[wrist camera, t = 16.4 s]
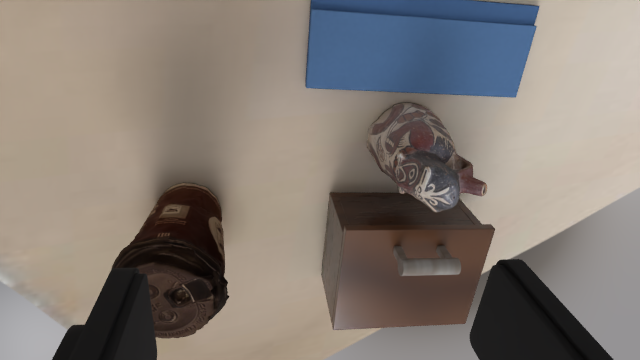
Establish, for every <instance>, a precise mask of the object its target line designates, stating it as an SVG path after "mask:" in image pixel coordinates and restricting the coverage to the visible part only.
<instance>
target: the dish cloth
mask: <svg viewBox="0 0 640 360" xmlns="http://www.w3.org/2000/svg"><path fill="white" fill-rule="evenodd" d="M538 10H539V6H533V5H521V4H509V3H497V2H486V1H474V0H311V6H310V22H309V37H308V53H307V68H306V84H305V85H306V88H318V89H340V90H362V91H384V92H407V93H429V94H451V95H473V96H495V97H516V95H517V91H518V88H519V85H520V81H521V78H522V74H523V71H524V68H525V64H526V61H527V57H528V54H529V51H530V47H531V44H532V40H533V37H534V33H535V30H536V26H534V24H535V20H536V17H537V13H538Z"/></svg>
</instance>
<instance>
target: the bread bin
mask: <svg viewBox="0 0 640 360" xmlns="http://www.w3.org/2000/svg"><path fill="white" fill-rule="evenodd" d="M350 225H482V224H481V223H480V221H479V220H478V219H477V218H476V217H475V216H474V215H473V214H472V212H471V211H470V210H469V209H468V208H467V207H466V206H465V204H464V203H463V202H462V201H461V200H460V199H459V200H458V202H457V204H456V205H455V206H454V207H452V208H450V209H447V210H443V211H441V212H434V211H432V210H431V209H430V208H429V207H428V206H427V205H425V204H424V203H423V202H421V201H420V200H418V199H416V198H415V197H414V196H412V195H410V194H408V193H404V194H401V193H330V196H329V206H328V216H327V225H326V235H325V245H324V255H323V264H322V274H321V275H322V280H323V285H324V289H325V294H326V299H327V303H328V308H329V313H330V317H331V322H332V320H333V312H334V304H335V296H336V288H337V280H338V272H339V264H340V256H341V248H342V240H343V232H344V226H350Z"/></svg>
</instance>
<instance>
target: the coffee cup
mask: <svg viewBox="0 0 640 360" xmlns="http://www.w3.org/2000/svg"><path fill="white" fill-rule="evenodd" d="M221 221H222V217H221V207H220V205H219V203H218V200H217V198H216V196H214V195H213V194H212V193H211V191H209V189H208V188H206V187H203V186H198V185H195V184H193V183H190V184H187V183H181V184H177V185H174V186H172V187H170V188H169V189H168V190H167V191H166V192H165V193H164V194H163V195H162V196H161V197H160V198H159V200H158V202H157V204H156V206H155V207H154V208H153V210H152V211H151V213H150V215H149V217H148V218H147V220H146V221H145V223H144V225H143V226H142V228H141V229H140V231H139V233H138V234H137V235H136V236H135V239H134V240H133V241H132V242H131V243H130V245H128V246H127V247H125V248H124V249H123V250H122V251H121V252H120V254H119V256H118V257H117V258H116V260H115V262H114V264H113V266H112V269H113V268H138V269H139V272H140V274H143V273H145V274H147V278H148V285H149V293H150V300H151V308H152V316H153V323H154V331H155V337H158V338H179V337H186V336H189V335H192V334H194V333H195V332H196V330H199V329H201V328H203V326H204V325H205V324H207V323H208V321H209V320H210V319H212V318H213V317H214V316H215V315H216V314H217V313H218V312H219V311H220V310H221V309H222V308H223V306H224V305H225V303H226V300H227V299H228V298H229V296H228V295H227V293H228V292H227V287H226V286H227V284H228V282H227V280H226V279H225V278H224V273H225V254H224V240H223V228H222V225H221Z"/></svg>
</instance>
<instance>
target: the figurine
mask: <svg viewBox="0 0 640 360" xmlns="http://www.w3.org/2000/svg"><path fill="white" fill-rule="evenodd" d="M367 148H368V149H369V151H370V152H371V154H372V156H373V157H374V159H375V161H376V163H377V165H378V166H379V168H380V169H381V171H382V172H384V173H385V174H387V175H389V176H390V177H391V178H392V179H393V180H394V181H395V182H396V184H397V185H398V191H399V192H400V193H401V194H404V193H405V192H407V193H408V194H410V195H412V196H414V197H415V198H416V199H418V200H420V201H421V202H423V203H424V204H425V205H427V206H428V207H429V208H430V209H431V210H432V211H434V212H441V211H443V210H447V209H450V208H452V207H454V206H455V205H456V204H457V202H458V200H459V194H461V193H470V194H474V195H478V196H484V195H485V194H486V192H487V185H486V183H484V182H482V181H480V180H478V179H475V178H473V165H472V164H471V163H470V162H469V161H467V160H465V159H463V158H462V157H460V156H459V155H457V154H456V150H455V147H454V143H453V141H452V139H451V137H450V135H449V133H448V131H447V130H446V128H445V127H444V125H443V124H442V122H441V121H440V119H439V118H438V117H437V116H436V115H435V114H434V113H432V112H431V111H430V110H429V109H427V108H425V107H423V106H421V105H417V104H413V103H400V104H396V105H394V106H393V107H392V108H390V109H389V110H387V111H385V112H384V113H383V114H382V115H381V116H380V117H379V119H378V120H377V121H376V122H374V123H373V124H372V125H371V126H370V128H369V131H368V141H367Z"/></svg>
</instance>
